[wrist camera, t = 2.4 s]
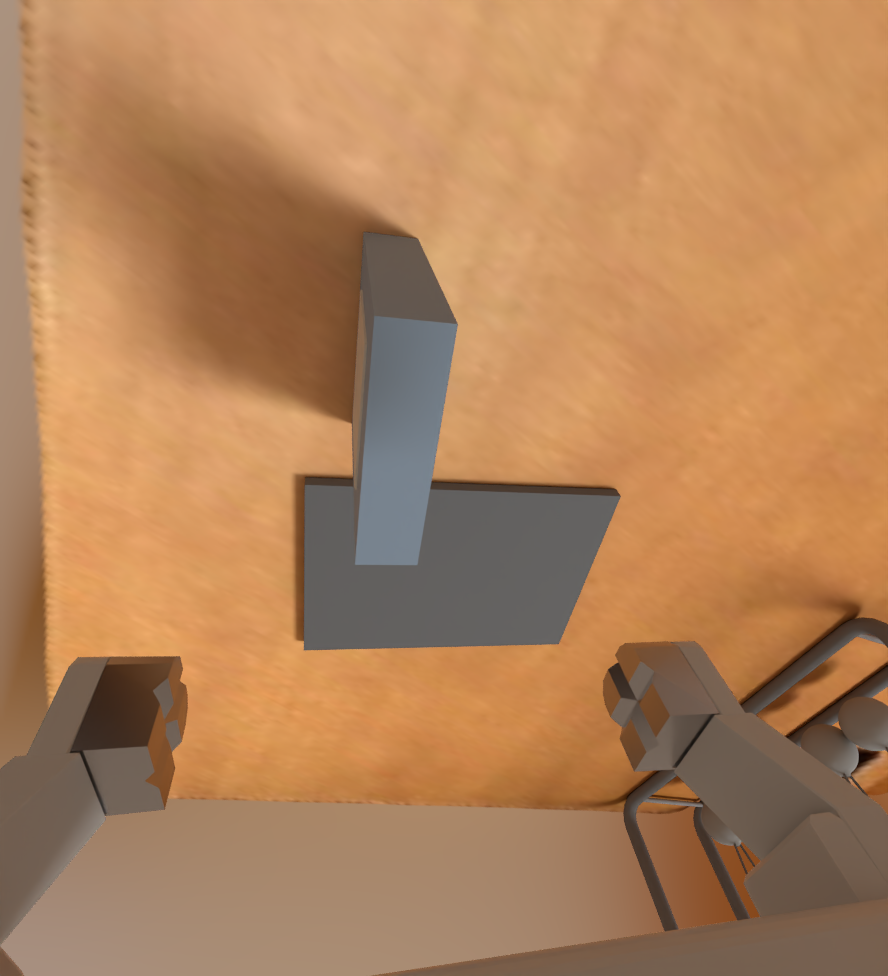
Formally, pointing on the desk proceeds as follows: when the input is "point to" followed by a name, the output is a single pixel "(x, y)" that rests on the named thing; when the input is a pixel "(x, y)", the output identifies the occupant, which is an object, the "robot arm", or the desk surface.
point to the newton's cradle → (826, 743)
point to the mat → (453, 568)
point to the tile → (397, 397)
